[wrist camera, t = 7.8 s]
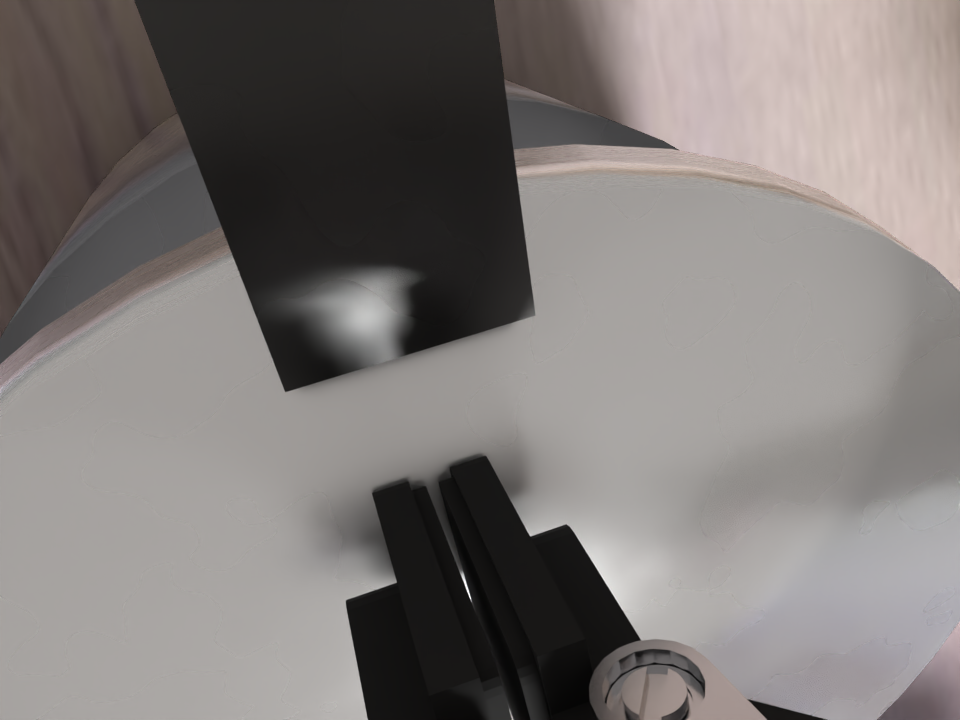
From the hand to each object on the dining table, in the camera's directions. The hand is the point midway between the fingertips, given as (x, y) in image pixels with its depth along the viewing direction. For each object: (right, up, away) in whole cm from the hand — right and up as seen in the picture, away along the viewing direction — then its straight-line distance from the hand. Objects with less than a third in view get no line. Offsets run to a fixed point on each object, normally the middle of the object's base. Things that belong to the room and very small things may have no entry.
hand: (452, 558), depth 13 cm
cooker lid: (0, -1, +3) cm, 3 cm away
